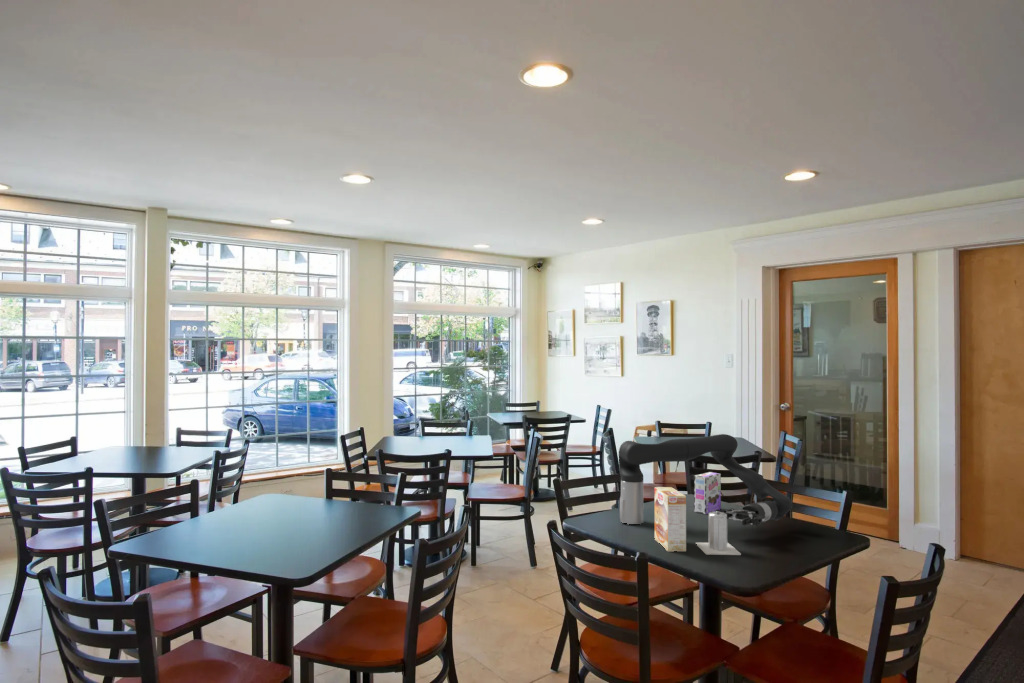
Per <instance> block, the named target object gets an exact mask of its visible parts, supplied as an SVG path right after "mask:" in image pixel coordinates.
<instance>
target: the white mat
mask: <svg viewBox="0 0 1024 683" xmlns="http://www.w3.org/2000/svg"><path fill="white" fill-rule="evenodd" d="M696 544H697V545H696ZM695 545H696V546H697V547H698V548H699V549H700V550H701V551H702V552H703V553H704V554H705V555H707V556H708V555H715V556H716V555H718V556H723V555H724V556H741V555H742V553H741V552H740V551H739V550H737V549H736V548H735V547H734V546H732V544H730V543H729V542H727V550H724V551H718V550H713V549H710V548H709V547H708V542H697V541H696V542H695Z"/></svg>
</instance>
